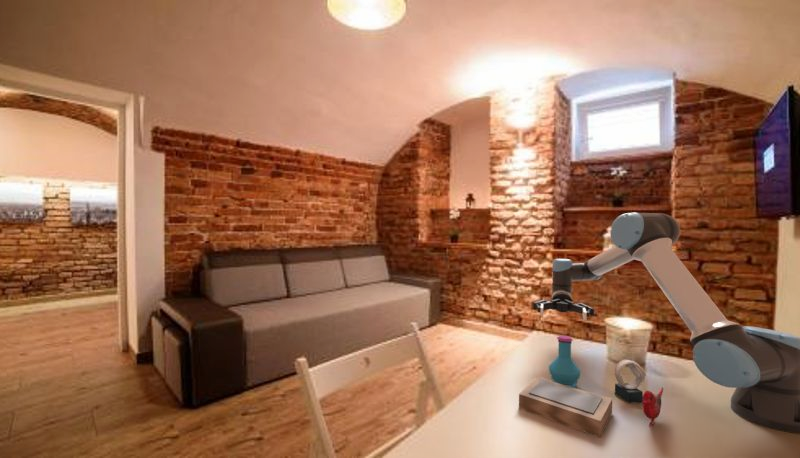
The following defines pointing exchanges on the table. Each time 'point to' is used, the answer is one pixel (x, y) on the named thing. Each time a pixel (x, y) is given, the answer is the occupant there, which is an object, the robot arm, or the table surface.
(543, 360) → the table surface
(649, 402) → the decorative bird figurine
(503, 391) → the table surface
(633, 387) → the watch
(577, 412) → the walnut stand
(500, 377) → the table surface
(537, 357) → the table surface
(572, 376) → the perfume bottle
